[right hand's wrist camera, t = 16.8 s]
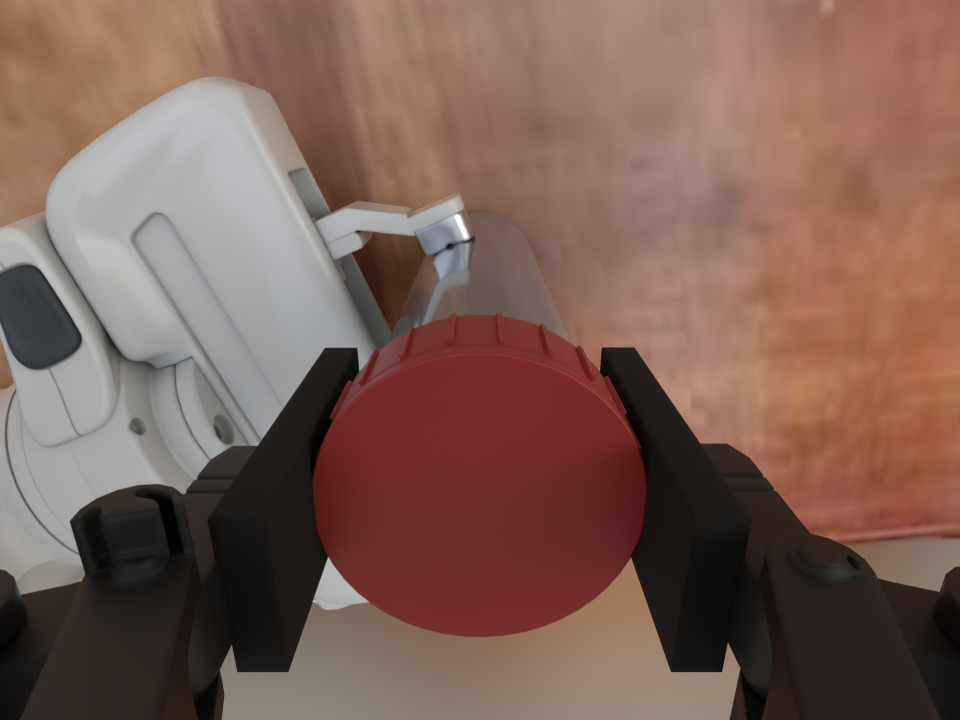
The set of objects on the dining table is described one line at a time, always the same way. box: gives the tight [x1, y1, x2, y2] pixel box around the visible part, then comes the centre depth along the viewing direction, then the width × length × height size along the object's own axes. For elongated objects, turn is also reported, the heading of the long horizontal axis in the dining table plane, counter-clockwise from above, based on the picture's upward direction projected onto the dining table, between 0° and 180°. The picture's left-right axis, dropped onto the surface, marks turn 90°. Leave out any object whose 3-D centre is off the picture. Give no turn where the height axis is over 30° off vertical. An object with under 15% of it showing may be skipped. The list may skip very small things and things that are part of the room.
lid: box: [312, 312, 647, 637], centre depth 11 cm, size 6×6×2 cm
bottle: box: [388, 211, 572, 344], centre depth 19 cm, size 5×5×18 cm
